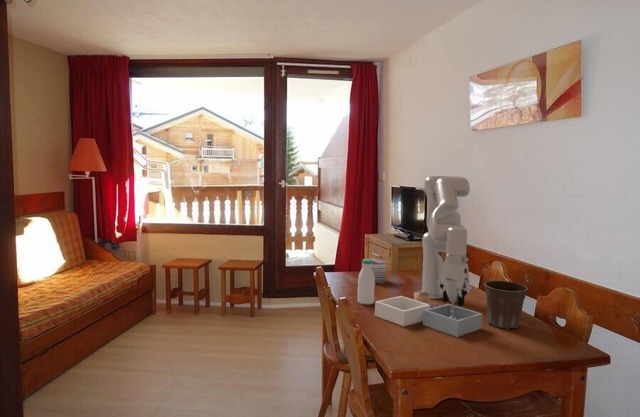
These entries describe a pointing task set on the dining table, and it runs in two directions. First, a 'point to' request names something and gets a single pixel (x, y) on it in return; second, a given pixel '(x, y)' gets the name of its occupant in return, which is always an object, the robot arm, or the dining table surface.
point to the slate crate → (452, 320)
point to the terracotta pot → (422, 297)
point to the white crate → (401, 310)
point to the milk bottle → (366, 283)
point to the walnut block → (432, 304)
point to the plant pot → (504, 303)
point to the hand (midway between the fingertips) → (453, 303)
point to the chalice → (452, 295)
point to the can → (379, 270)
